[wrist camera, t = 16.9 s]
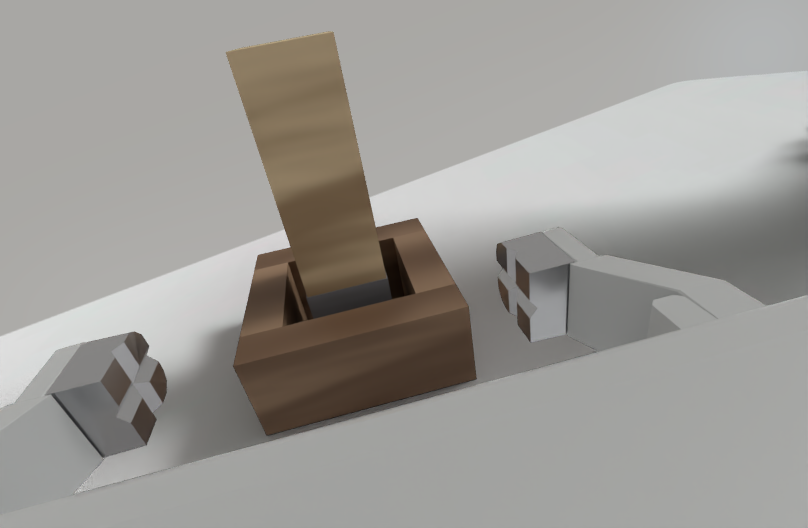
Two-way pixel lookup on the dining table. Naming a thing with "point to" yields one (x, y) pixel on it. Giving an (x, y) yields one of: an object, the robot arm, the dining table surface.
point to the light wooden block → (314, 168)
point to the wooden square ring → (353, 337)
